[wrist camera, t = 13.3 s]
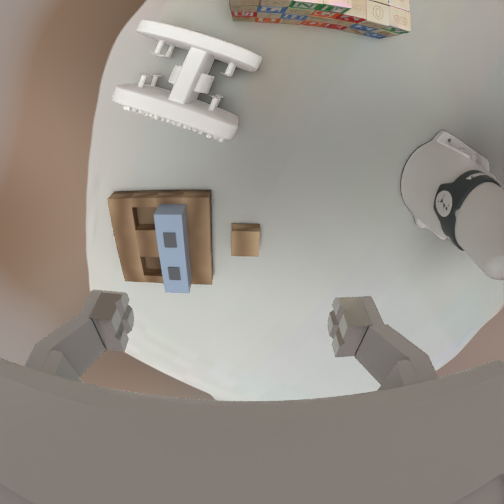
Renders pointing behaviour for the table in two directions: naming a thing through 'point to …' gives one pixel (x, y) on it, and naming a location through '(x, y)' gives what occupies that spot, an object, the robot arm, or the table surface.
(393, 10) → the stack of blocks
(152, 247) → the board
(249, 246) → the block
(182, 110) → the cable organizer
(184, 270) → the strip
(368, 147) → the table surface
